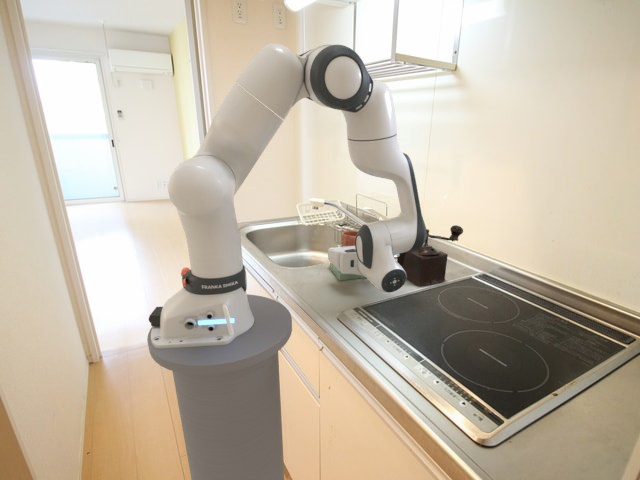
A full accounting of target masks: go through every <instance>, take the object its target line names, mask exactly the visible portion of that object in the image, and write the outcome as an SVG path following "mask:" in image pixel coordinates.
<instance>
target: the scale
mask: <svg viewBox="0 0 640 480" xmlns="http://www.w3.org/2000/svg"><path fill="white" fill-rule="evenodd" d="M329 270H331V272H332V273H333V275H335V276H336V278H337V279H338V280H339V281H347V280H354V279H364V278H366V277H365V276H361V275H357V274H344V273H341V272H340V268H337V267H335V266H334V265H333V264H332V263H331V262H329Z"/></svg>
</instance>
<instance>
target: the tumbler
mask: <svg viewBox="0 0 640 480" xmlns="http://www.w3.org/2000/svg"><path fill="white" fill-rule="evenodd" d="M358 231H359V230H344V231H342V232H341V245H343V247H345V246H355V238H356V235H357V233H358Z"/></svg>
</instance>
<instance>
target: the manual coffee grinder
mask: <svg viewBox="0 0 640 480" xmlns="http://www.w3.org/2000/svg"><path fill="white" fill-rule="evenodd" d="M449 229H450V234H451V235H450V236H449V237H445V236H441V235H431V234H430V230H429V229H428V228H426V231H427V237H426V240H425V242H424V244H423V246H422V247H421V248H420V249H419V250H417V251H412V252H406V254H405V258H404V262H403V266H402V268H403V269H404V270H405V272H406V276H407V277H406V280H408V281H409V282H410V283H413V284H414V285H415V286H417V287H424V286H431V285H435V284H440V283H442V282H445V281H446V271H447V263H448V254H449V253H446V252H444V251H442V250H440V249H437V248H435V247H433V246H432V245H429V238H430V239H438V240H444V241H451V242H455V241H457V242H458V241H459V237H460V236H461V235H463V233H464V228H462V226H460V225H458V224H456V225H451V227H450V228H449Z"/></svg>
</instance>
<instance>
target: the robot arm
mask: <svg viewBox="0 0 640 480" xmlns="http://www.w3.org/2000/svg"><path fill="white" fill-rule="evenodd" d="M303 99H308V100H309V101H312V102H314V103H315V104H317V105H319V106H322V107H325V108H329V109H333V110H338V111H341V112H342V114H343V117H344V121H345V123H346V136H347V137H346V138H347V139H346V140H347V147H348V153H349V157H350V161H351V162H352V164H353V165H354V166H355V168H357V169H358V170H359V171H360V172H362V173H364V174H366V175H369V176H371V177H375V178H380V179H385V180H388V181H389V180H390V181H392V182H393V183H394V185H395V188H396V193H397V197H398V202H399V206H400V212H399V214H398V215H397V216H394V217H390V218H386V219H380V220H376V221H372V222H368V223H364V224H362V225H361V226H360V228H359V229H358V230H357V231H358V233H357V235H356V238H355V246H345V247H343V245H342V244H337V245H336V247H329V248H328V249H327V259H328V262H329V263H332V264H333V265H334V266H335V267H337V268H340V272H341V273H344V274H357V275H361V276H365V278H366V279H367V281H368V282H369V283H370V284H371V285H373V286H374V287H375V288H376V289H377V290H379V291H381V292H384V293H387V294H391V293H393V292H396V291H399V290H400V289H401V288H402V287H403V286H404V285H405V283H406V282H407V279H406V277H407V276H406V272H405V270H404V269H403V268H402V266H401V265H400V264H399V263H398V262H397V257H399V256H400V255H399V254H400V253H404V252H412V251H417V250H419V249H420V248H421V247H422V246H423V245H424V244H425V240H426V237H427V231H426V229H427V226H426V223H425V220H424V217H423V214H422V213H423V212H422V209H421V202H420V197H419V191H418V184H417V180H416V174H415V171H414V167H413V163H412V160H411V158H410V156H409V155H408V154H407V153H405V152H403V151H402V149H401V147H400V144H399V141H398V140H399V139H398V130H397V129H398V128H397V117H396V109H395V103H394V99H393V94H392V91H391V89H390V87H389V85H387V84H386V83H385V82H383V81H380V80H378V79H373V78H372V77H371V75H370V73H369V71H368V69H367V67H366V65H365V62H364V61H363V60H362V58H361V56H360V55H359V54H358V53H357V52H356V51H355V50H354V49H353V48H350V47H349V46H346V45H343V44H324V45H323V44H322V45H319V46H318V47H315V48H312V49H310V50H308V51H305V52H303V53H301V54H299V55H298V54H296V53H295V52H294V51H293V50H291V49H290V48H289V47H287V46H286V45H283V44H281V43H276V42H273V43H272V42H270V43H267V44H266V45H264V46H263V47H262V48H261V49H260V50H259V51H258V52H257V53H256V54H255V55H254V56H253V57H252V58H251V60H250V61H249V62H248V64H247V65H246V66H245V68H244V69H243V70H242V71H241V73H240V74H239V76H238V77H237V79H235V82H234V83H233V85H232V86H231V89H230V90H229V92H228V93H227V94H226V96H225V98H224V100H223V101H222V103H221V104H220V106H219V108H218V110H217V111H216V113H215V114H214V116H213V118H212V119H211V123H210V126H209V127H208V130H207V132H206V134H205V137H204V139H203V140H202V143H201V145H200V146H199V149H198V150H197V152H195V155H193V156H192V157H191V158H188V159H185V160H183V161H182V162H180V163H179V164H178V165H177V166H176V167H175V168H174V169H173V171H172V173H171V175H170V177H169V179H168V184H167V194H168V196H169V199H170V201H171V203H172V204H173V206H174V207H175V208H176V211H177V215H178V217H179V220H180V223H181V226H182V229H183V232H184V235H185V239H186V244H187V250H188V251H187V253H188V257H189V258H188V259H189V265H190V267H183V268H182V269H181V272H180V276H181V282H182V288H181V289H179V290H178V291H177V292H176V293H174V294H173V295H172V296H170V297H169V298H167V300H166V301H165V302H164V304H163V306H156V307H154V310H153V311H151V313H150V315H149V316H148V322H149V323H150V327H151V328H152V326H153V328H152V331H151V343H152V345H153V346H154V347H155V348H157V349H166V348H183V347H199V346H216V345H227V344H229V343H230V342H232V341H233V340H234V339H235V338H236V337H237V336H239V335H241V334H243V333H244V332H246V331H247V330H249V329H250V328H251V327H252V326H253V324H254V317H253V314H252V312H251V309H250V306H249V303H248V298H247V288H248V280H247V271H246V268H245V265H244V262H243V260H244V259H243V249H242V248H243V247H242V237H241V232H240V230H239V229H240V228H239V225H238V220H237V215H236V208H235V202H234V201H235V199H234V197H235V195H236V194H237V193H238V191H239V190H240V188H241V187H242V185H243V184H244V182H245V180H246V179H247V178H248V176H249V175H250V173H251V171H252V170H253V168H254V167H255V165H256V163H257V162H258V160H259V159H260V157H261V156H262V154H263V153H264V151H265V150H266V148H267V147H268V145H269V144H270V142H271V141H272V139H273V137H274V136H275V135H276V133H277V132H278V130H279V128H280V127H281V126H282V124H283V123H284V121H285V120H286V118H287V116H288V115H289V113H290V112H291V110H292V108H293V107H294V106H295V105H296V104H297V103H298V102H299V101H301V100H303Z"/></svg>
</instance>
